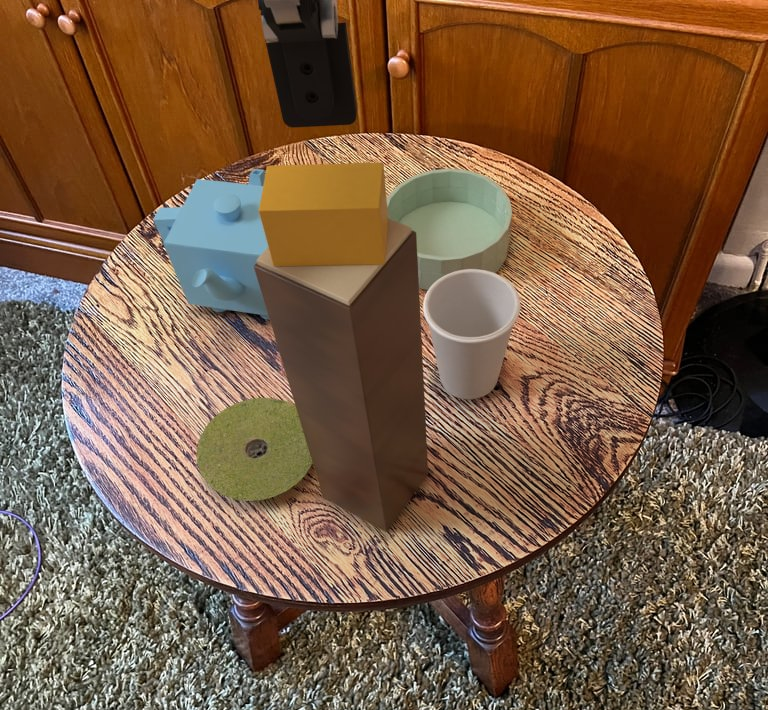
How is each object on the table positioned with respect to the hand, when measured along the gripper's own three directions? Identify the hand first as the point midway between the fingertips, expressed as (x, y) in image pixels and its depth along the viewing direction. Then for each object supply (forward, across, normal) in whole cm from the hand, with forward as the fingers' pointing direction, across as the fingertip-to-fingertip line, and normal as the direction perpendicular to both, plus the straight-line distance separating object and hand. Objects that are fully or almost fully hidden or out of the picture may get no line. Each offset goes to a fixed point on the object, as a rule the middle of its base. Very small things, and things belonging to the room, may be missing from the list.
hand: (330, 54), depth 36 cm
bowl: (+39, +30, -4) cm, 49 cm away
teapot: (+39, +23, +17) cm, 48 cm away
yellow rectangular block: (+11, -1, +2) cm, 11 cm away
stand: (+39, -1, +2) cm, 39 cm away
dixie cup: (+39, +12, -7) cm, 42 cm away
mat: (+39, +2, +13) cm, 41 cm away
